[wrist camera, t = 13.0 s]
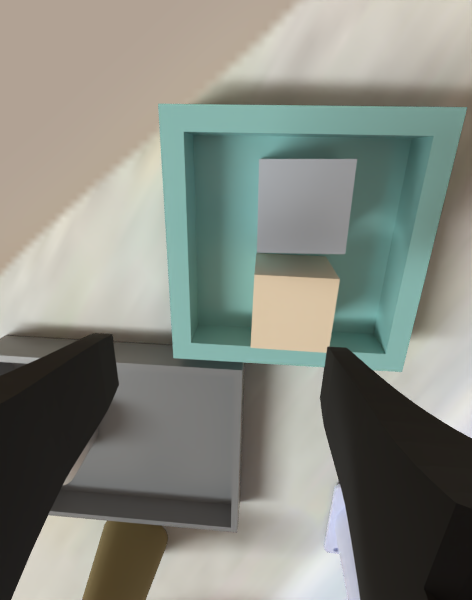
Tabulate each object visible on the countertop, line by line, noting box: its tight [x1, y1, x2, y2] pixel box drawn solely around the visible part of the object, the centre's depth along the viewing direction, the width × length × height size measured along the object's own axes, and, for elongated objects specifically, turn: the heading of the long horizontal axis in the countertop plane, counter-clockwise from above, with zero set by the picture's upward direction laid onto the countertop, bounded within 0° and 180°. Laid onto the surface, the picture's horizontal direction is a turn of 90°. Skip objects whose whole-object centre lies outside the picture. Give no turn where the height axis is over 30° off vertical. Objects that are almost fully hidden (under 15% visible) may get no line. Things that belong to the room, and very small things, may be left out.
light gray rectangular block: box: [257, 159, 357, 254], centre depth 17 cm, size 4×4×4 cm
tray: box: [0, 335, 244, 532], centre depth 25 cm, size 17×15×2 cm
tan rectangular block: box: [251, 253, 340, 353], centre depth 19 cm, size 4×4×4 cm
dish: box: [158, 104, 467, 372], centre depth 19 cm, size 13×13×3 cm
